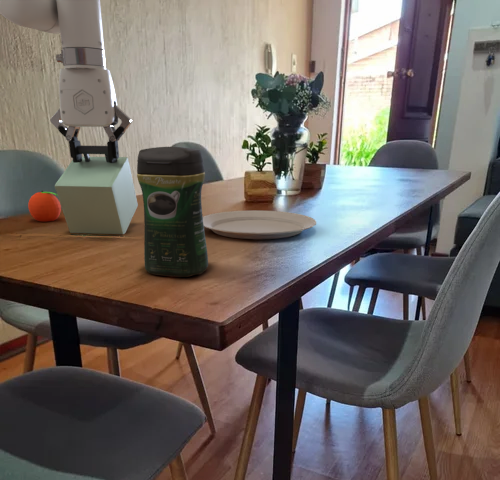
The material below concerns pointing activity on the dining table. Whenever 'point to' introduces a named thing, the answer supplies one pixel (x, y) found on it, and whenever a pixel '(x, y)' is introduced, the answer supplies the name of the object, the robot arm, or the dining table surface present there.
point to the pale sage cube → (97, 194)
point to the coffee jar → (173, 211)
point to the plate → (257, 224)
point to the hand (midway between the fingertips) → (95, 161)
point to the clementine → (44, 206)
